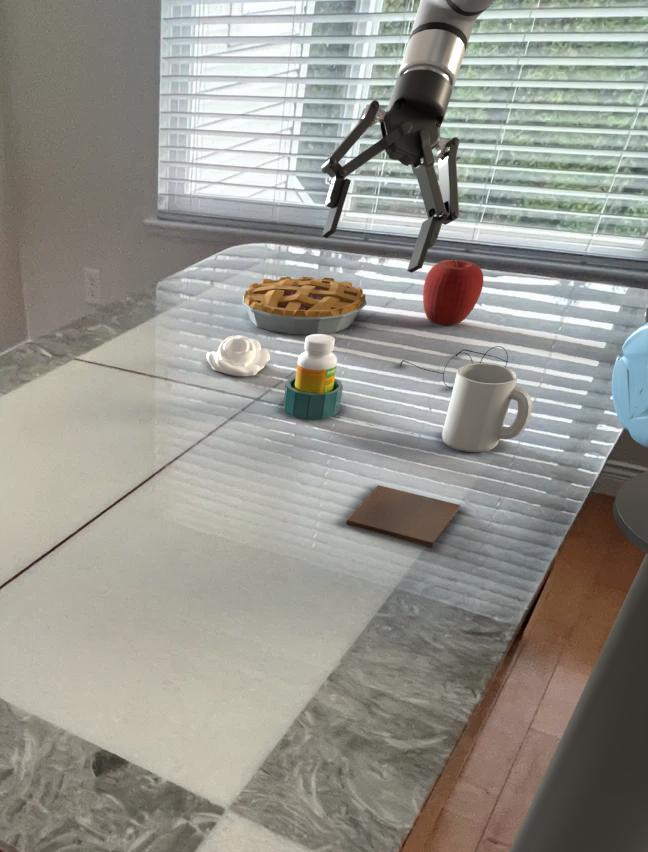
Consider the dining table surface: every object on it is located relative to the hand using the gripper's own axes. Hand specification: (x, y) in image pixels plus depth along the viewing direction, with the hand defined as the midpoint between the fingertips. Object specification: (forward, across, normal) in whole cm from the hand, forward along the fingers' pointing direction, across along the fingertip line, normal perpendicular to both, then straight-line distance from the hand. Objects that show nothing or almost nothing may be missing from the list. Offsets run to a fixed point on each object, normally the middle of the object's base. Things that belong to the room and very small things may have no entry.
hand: (371, 252), depth 115 cm
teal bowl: (+21, +1, -3) cm, 21 cm away
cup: (+22, -18, +13) cm, 31 cm away
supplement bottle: (+21, +1, -3) cm, 21 cm away
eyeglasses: (+8, -22, -8) cm, 25 cm away
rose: (+15, +8, -20) cm, 26 cm away
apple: (-5, -28, -28) cm, 40 cm away
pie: (0, -6, -37) cm, 37 cm away
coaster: (+36, -3, +26) cm, 44 cm away
